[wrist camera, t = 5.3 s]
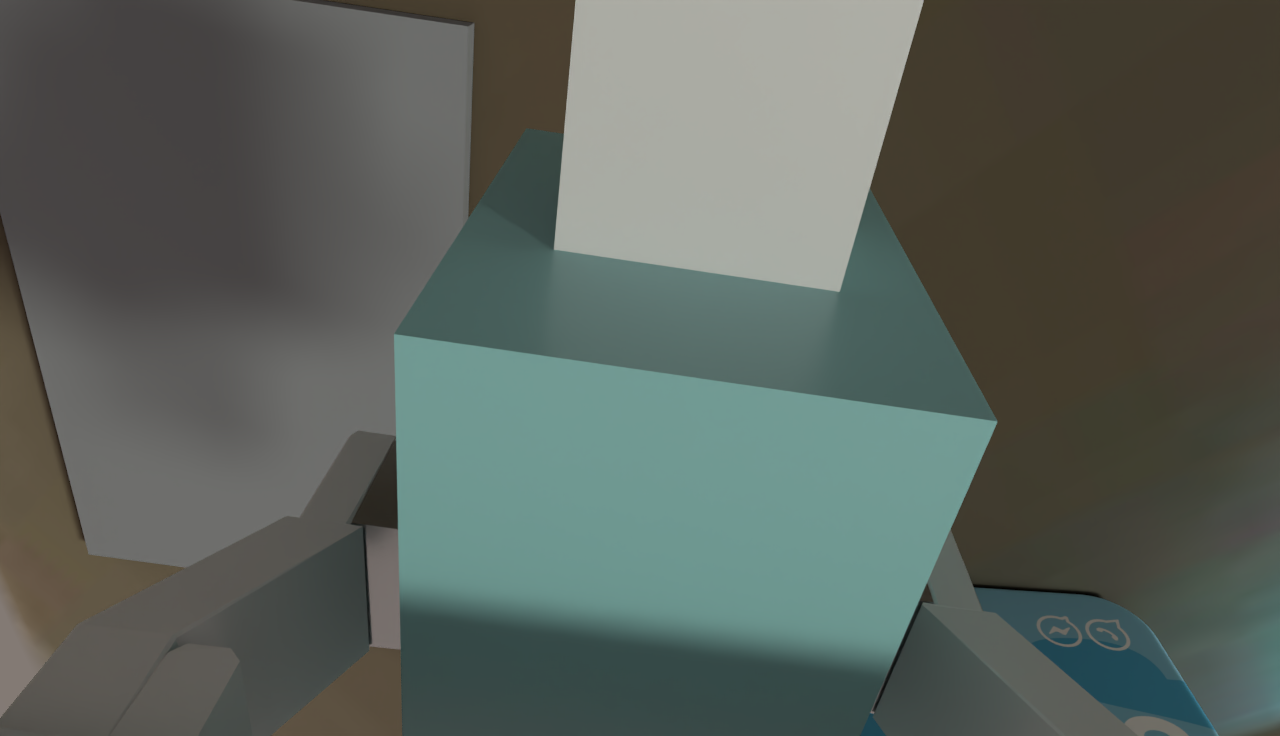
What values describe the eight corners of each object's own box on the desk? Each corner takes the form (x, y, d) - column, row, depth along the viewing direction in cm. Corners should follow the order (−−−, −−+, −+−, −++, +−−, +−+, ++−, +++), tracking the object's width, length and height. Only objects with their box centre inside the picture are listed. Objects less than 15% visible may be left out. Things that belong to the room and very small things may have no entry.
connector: (541, -107, 8) (384, -82, 4) (928, -46, 9) (1164, 39, 4) (486, 754, 16) (409, 1081, 12) (693, 782, 16) (693, 1116, 12)
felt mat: (-49, -55, 19) (-69, -54, 18) (474, 22, 19) (468, 26, 19) (100, 542, 28) (88, 554, 27) (456, 590, 28) (451, 603, 28)
